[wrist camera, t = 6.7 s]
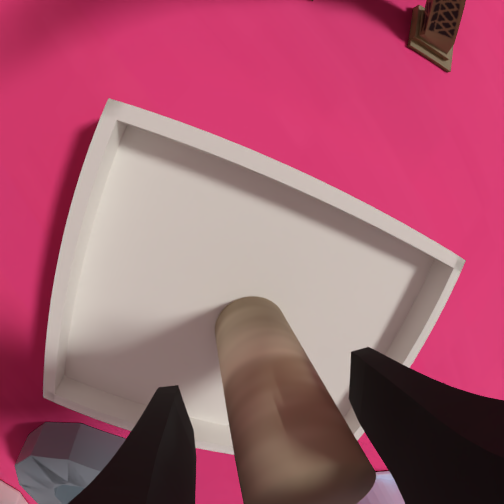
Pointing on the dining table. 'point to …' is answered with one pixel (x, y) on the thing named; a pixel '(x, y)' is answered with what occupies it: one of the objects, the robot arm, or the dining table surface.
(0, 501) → the jar
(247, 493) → the pin
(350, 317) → the tray
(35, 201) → the dining table surface
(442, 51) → the eiffel tower
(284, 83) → the dining table surface
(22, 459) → the grey faceted ashtray
